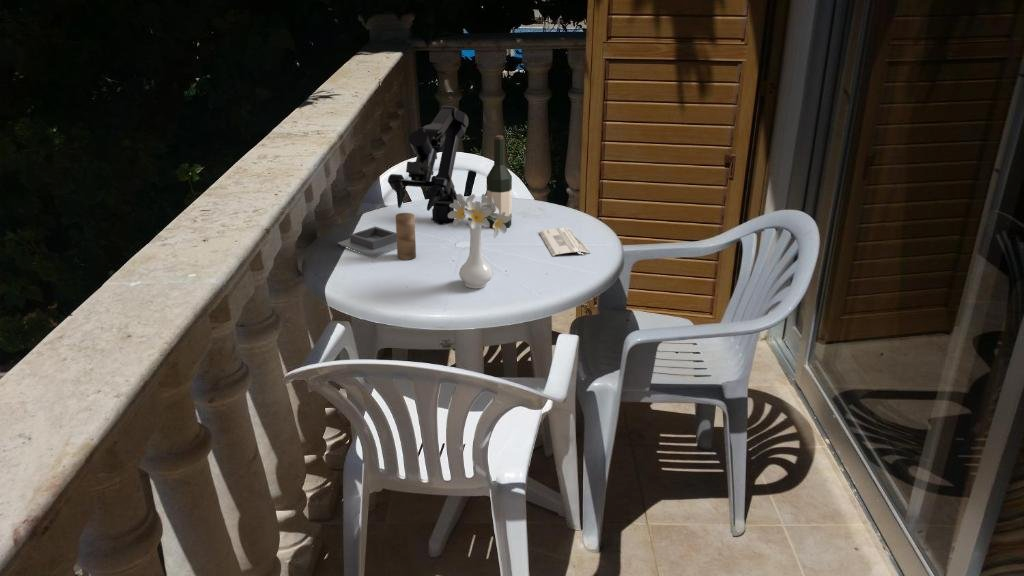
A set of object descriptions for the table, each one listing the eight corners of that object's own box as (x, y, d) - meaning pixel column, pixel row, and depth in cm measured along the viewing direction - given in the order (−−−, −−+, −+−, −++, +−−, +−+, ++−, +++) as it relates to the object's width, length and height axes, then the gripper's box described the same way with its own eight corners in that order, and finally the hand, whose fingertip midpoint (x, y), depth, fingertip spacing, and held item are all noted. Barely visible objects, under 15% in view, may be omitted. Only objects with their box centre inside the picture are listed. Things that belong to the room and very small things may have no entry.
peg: (410, 252, 247) (408, 211, 242) (419, 257, 243) (417, 216, 238) (394, 256, 244) (392, 214, 239) (403, 261, 240) (401, 219, 235)
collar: (376, 232, 263) (376, 222, 262) (411, 243, 254) (410, 233, 253) (337, 245, 252) (337, 235, 251) (372, 257, 243) (372, 246, 241)
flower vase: (496, 299, 215) (496, 209, 205) (437, 286, 223) (435, 198, 213) (519, 283, 226) (520, 196, 216) (462, 270, 234) (461, 186, 224)
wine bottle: (496, 219, 277) (496, 132, 266) (516, 224, 273) (517, 135, 261) (481, 225, 271) (481, 136, 259) (501, 230, 267) (502, 140, 255)
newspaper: (592, 256, 247) (592, 249, 246) (553, 262, 246) (552, 254, 245) (575, 231, 268) (574, 224, 267) (538, 237, 266) (538, 230, 265)
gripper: (388, 147, 245) (375, 193, 240) (447, 152, 241) (435, 198, 235) (399, 167, 255) (387, 211, 250) (455, 171, 251) (445, 216, 246)
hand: (413, 208), depth 245 cm, fingers open, 9 cm apart
